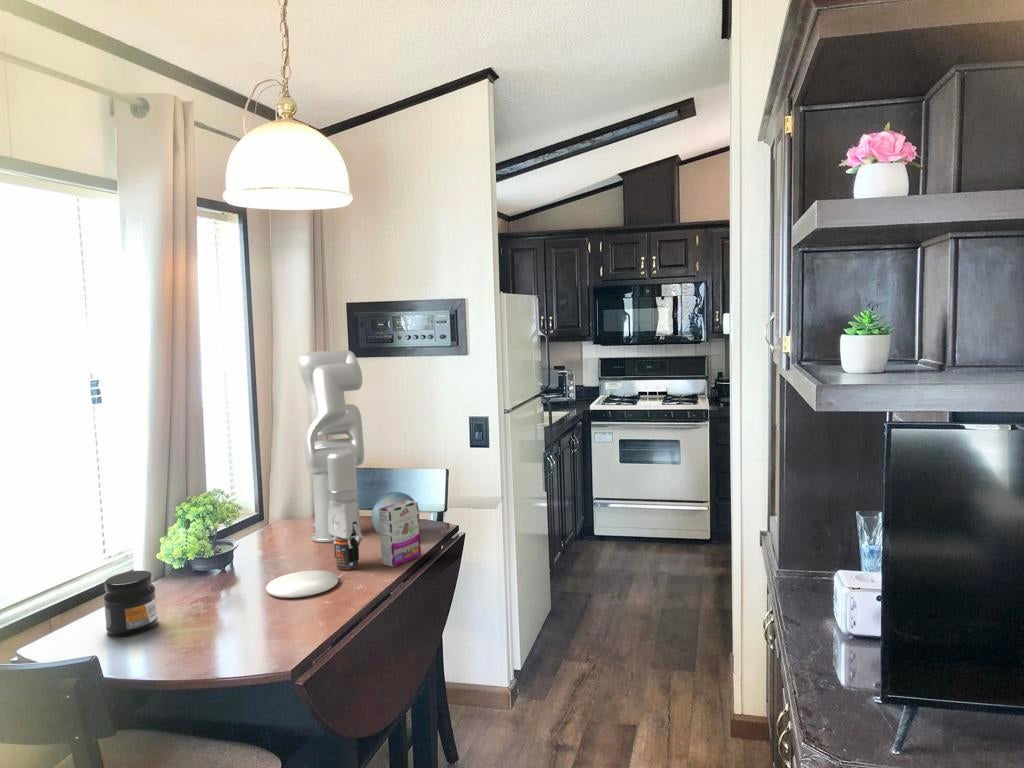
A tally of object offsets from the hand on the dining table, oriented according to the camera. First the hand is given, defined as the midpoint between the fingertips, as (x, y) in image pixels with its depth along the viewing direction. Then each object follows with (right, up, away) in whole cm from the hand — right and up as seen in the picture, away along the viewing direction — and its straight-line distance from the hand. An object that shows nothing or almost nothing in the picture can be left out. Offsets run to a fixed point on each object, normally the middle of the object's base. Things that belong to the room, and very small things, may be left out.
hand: (347, 558), depth 200 cm
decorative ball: (+10, 0, +26) cm, 27 cm away
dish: (-8, -4, -14) cm, 17 cm away
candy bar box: (+15, -2, +4) cm, 15 cm away
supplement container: (-41, -7, -37) cm, 55 cm away
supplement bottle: (0, -3, 0) cm, 3 cm away
